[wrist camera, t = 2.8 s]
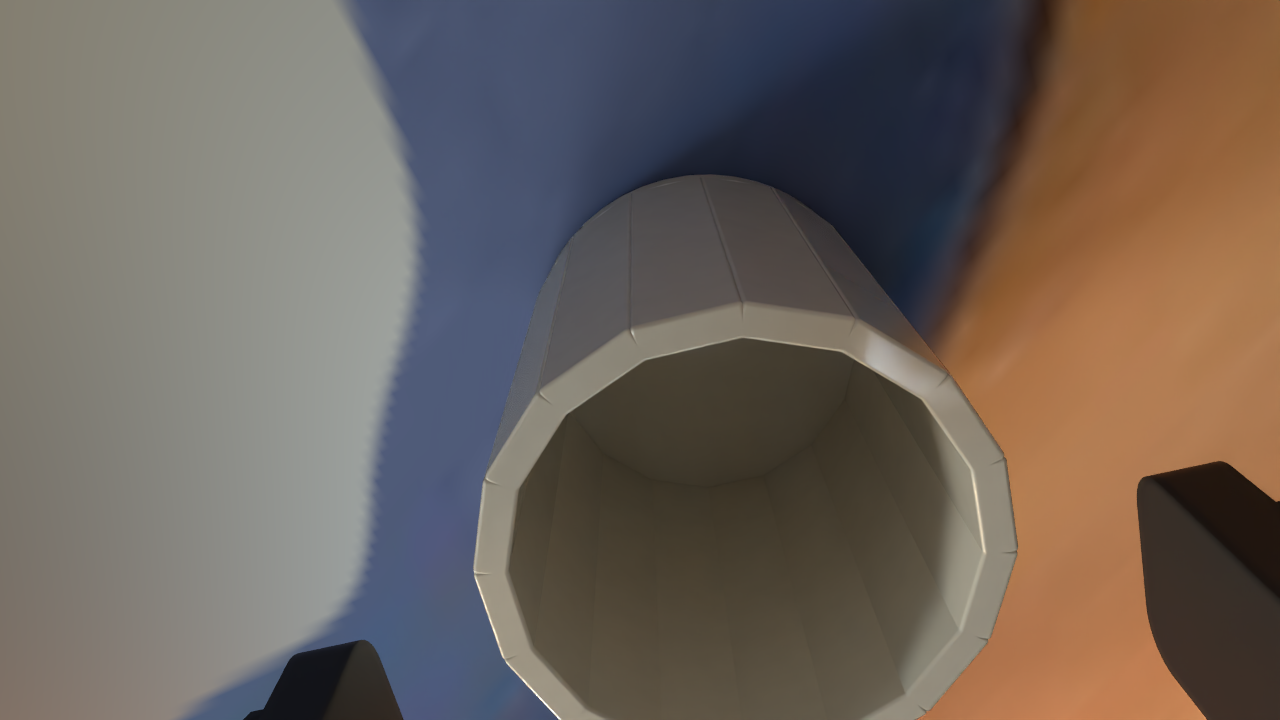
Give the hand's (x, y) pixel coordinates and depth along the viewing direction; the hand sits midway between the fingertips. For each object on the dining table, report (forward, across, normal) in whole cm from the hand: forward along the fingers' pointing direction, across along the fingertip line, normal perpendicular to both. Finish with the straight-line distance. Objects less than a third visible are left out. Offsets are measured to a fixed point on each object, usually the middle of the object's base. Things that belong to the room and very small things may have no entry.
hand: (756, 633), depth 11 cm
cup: (+8, 0, 0) cm, 9 cm away
